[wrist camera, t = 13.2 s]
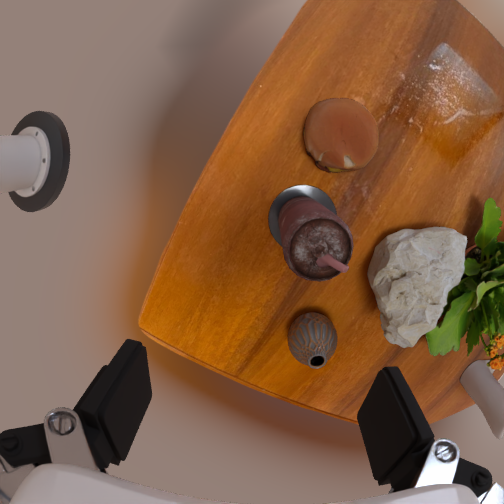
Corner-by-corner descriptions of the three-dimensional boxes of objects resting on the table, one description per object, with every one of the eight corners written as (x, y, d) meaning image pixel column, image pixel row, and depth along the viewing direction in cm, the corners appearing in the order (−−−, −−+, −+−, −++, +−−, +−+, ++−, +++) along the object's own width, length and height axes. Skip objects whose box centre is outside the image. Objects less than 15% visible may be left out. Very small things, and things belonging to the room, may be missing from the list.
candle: (486, 382, 44) (522, 432, 25) (454, 385, 44) (492, 445, 25) (501, 359, 42) (541, 407, 23) (471, 359, 42) (515, 418, 23)
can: (313, 250, 37) (336, 297, 23) (270, 229, 36) (270, 267, 23) (334, 210, 35) (371, 236, 22) (291, 187, 34) (305, 200, 21)
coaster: (263, 247, 37) (263, 248, 37) (273, 179, 35) (273, 179, 34) (329, 256, 37) (329, 257, 37) (341, 191, 35) (342, 191, 34)
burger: (353, 93, 30) (364, 84, 26) (382, 156, 33) (396, 155, 28) (287, 118, 32) (289, 111, 28) (318, 183, 35) (325, 185, 30)
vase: (322, 347, 42) (332, 384, 33) (281, 339, 41) (282, 377, 33) (338, 310, 39) (352, 344, 31) (294, 301, 39) (299, 335, 31)
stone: (455, 206, 31) (507, 290, 20) (446, 255, 38) (481, 333, 27) (357, 229, 35) (388, 329, 24) (361, 277, 42) (381, 365, 31)
